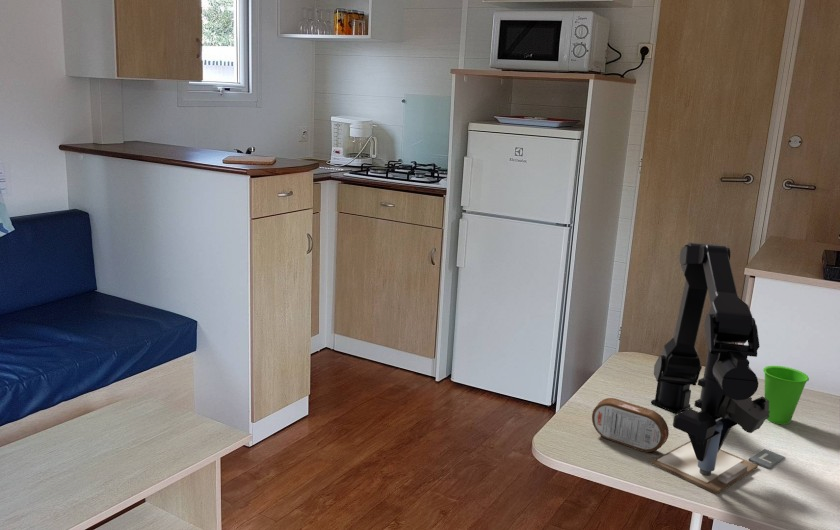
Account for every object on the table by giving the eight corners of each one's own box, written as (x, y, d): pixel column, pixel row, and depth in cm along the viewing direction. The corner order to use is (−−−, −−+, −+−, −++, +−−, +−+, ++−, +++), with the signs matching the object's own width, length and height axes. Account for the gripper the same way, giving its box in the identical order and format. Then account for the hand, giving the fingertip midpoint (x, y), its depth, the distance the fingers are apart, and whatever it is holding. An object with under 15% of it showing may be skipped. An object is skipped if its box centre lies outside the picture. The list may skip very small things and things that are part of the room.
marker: (692, 471, 133) (700, 421, 130) (701, 466, 135) (709, 416, 132) (708, 479, 130) (717, 427, 128) (717, 474, 132) (726, 423, 130)
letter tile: (748, 460, 140) (748, 458, 140) (764, 450, 144) (764, 448, 144) (768, 469, 137) (769, 466, 137) (784, 458, 142) (785, 456, 141)
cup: (805, 431, 154) (815, 383, 152) (760, 425, 156) (769, 378, 153) (793, 414, 163) (802, 368, 160) (750, 408, 165) (758, 363, 162)
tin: (666, 453, 141) (672, 414, 139) (661, 459, 138) (667, 419, 136) (593, 429, 149) (598, 391, 147) (587, 434, 147) (592, 396, 145)
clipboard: (651, 463, 136) (652, 456, 136) (694, 441, 147) (695, 434, 146) (716, 494, 127) (717, 486, 127) (757, 468, 137) (759, 460, 137)
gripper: (740, 405, 116) (725, 491, 120) (789, 380, 128) (774, 460, 132) (677, 382, 124) (665, 464, 128) (729, 361, 136) (716, 436, 140)
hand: (707, 456), depth 132 cm, fingers open, 5 cm apart
